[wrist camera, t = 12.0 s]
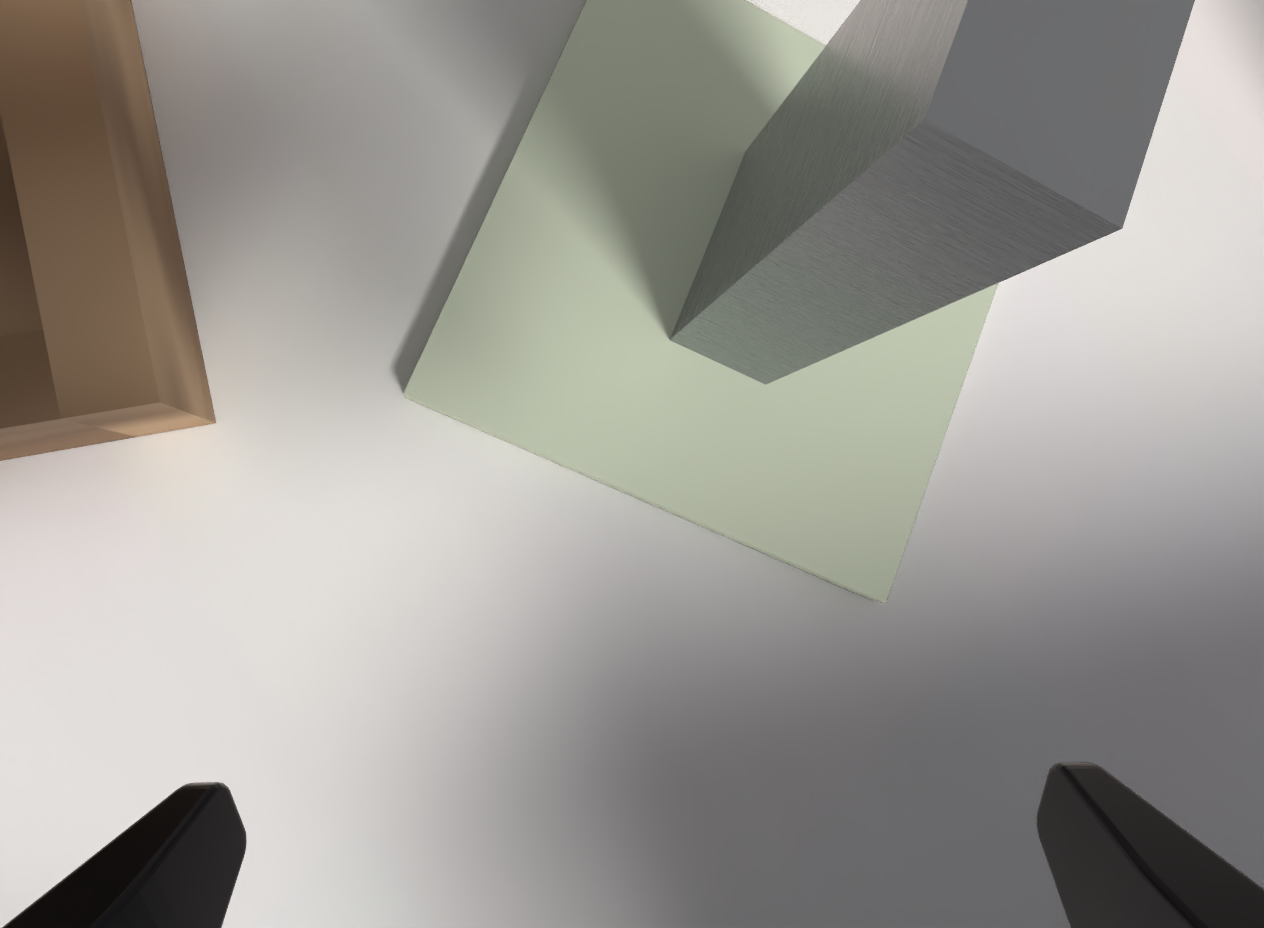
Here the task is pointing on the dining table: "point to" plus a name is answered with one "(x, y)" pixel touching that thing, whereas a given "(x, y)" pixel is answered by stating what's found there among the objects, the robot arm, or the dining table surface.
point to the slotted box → (87, 239)
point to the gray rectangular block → (928, 169)
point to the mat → (655, 294)
